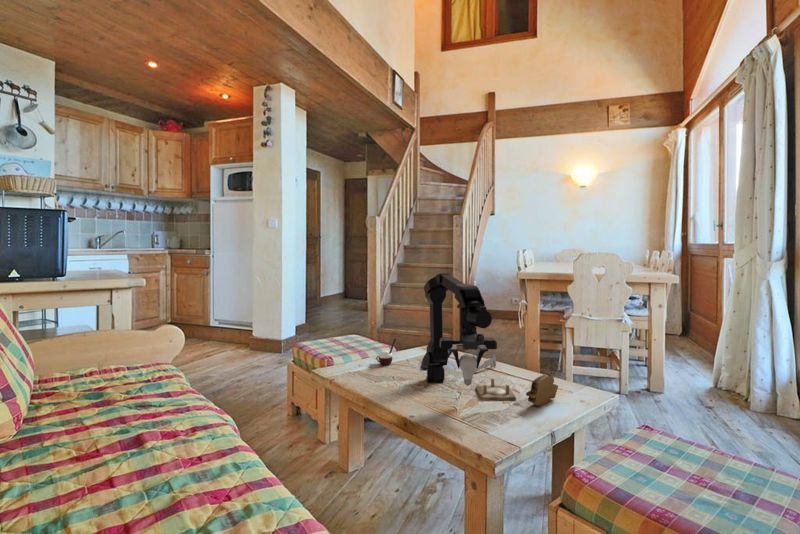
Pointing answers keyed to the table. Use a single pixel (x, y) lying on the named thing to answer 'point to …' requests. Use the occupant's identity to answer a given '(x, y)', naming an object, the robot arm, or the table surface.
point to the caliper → (487, 363)
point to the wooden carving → (542, 390)
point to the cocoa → (386, 356)
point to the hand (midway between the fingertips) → (467, 368)
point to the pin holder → (495, 392)
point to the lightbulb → (467, 367)
